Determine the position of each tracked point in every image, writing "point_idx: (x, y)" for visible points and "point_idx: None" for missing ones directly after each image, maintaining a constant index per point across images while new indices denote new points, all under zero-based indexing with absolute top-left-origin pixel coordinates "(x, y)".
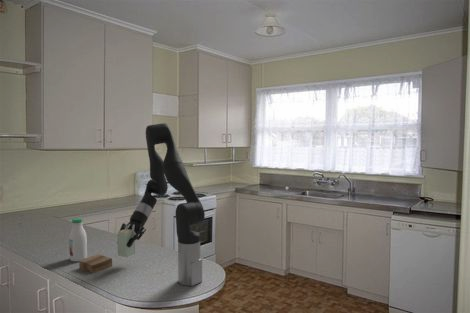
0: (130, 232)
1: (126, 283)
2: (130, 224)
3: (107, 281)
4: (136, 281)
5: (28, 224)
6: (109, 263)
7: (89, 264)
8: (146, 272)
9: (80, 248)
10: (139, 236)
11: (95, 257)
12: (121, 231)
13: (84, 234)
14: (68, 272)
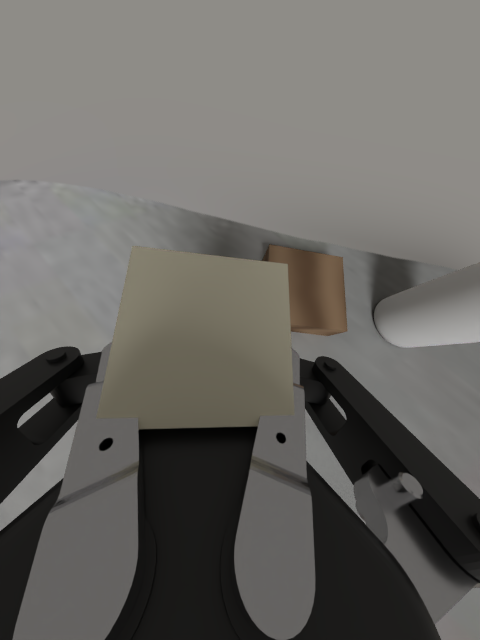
0: (124, 344)
1: (112, 245)
2: (253, 587)
3: (179, 237)
4: (87, 267)
5: None
6: None
7: (287, 248)
8: (95, 339)
9: (421, 295)
10: (47, 416)
11: (326, 301)
12: (239, 276)
13: None
14: (324, 242)
